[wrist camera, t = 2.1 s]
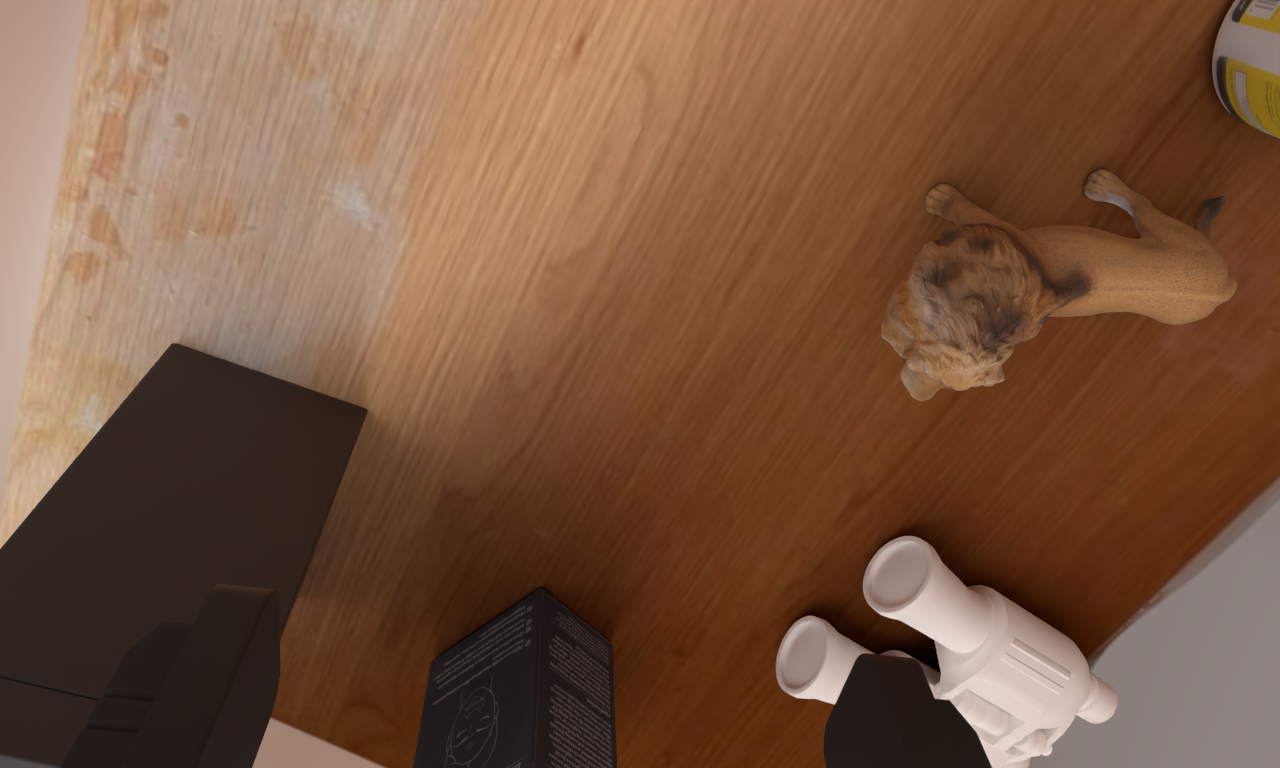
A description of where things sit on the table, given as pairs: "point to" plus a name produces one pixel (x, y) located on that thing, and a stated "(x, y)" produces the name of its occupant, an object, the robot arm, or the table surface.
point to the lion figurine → (1042, 282)
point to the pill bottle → (1250, 64)
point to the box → (522, 694)
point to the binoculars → (960, 655)
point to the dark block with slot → (160, 533)
